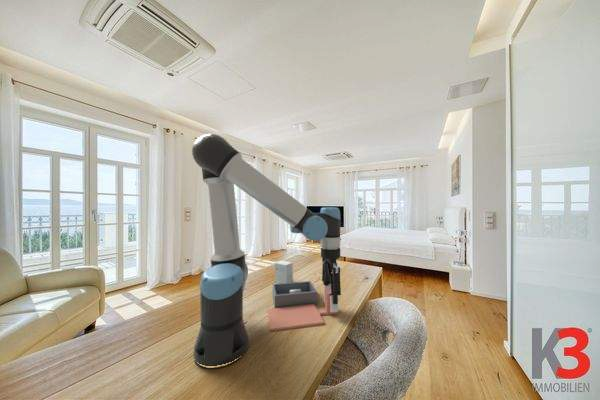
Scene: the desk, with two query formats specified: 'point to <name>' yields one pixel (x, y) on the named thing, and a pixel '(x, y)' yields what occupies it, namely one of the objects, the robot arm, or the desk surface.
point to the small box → (283, 272)
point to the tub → (294, 294)
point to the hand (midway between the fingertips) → (330, 306)
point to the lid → (298, 315)
